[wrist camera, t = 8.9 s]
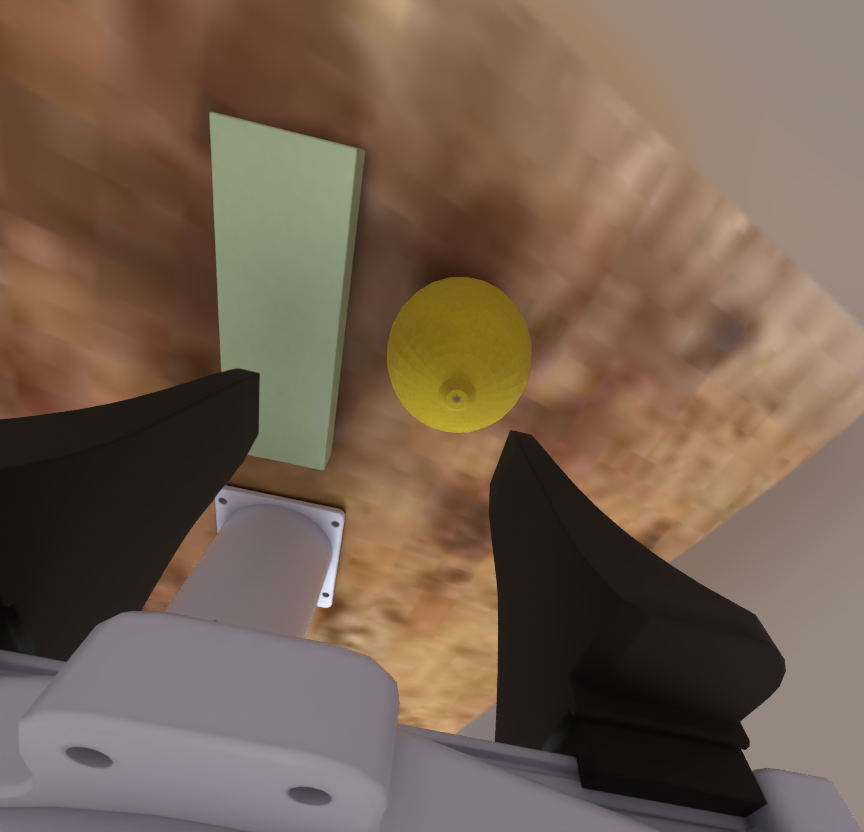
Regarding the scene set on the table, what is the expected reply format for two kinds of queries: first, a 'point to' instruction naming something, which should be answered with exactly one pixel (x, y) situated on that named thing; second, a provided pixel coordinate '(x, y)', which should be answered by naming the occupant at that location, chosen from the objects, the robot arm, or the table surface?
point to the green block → (285, 275)
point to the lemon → (459, 354)
